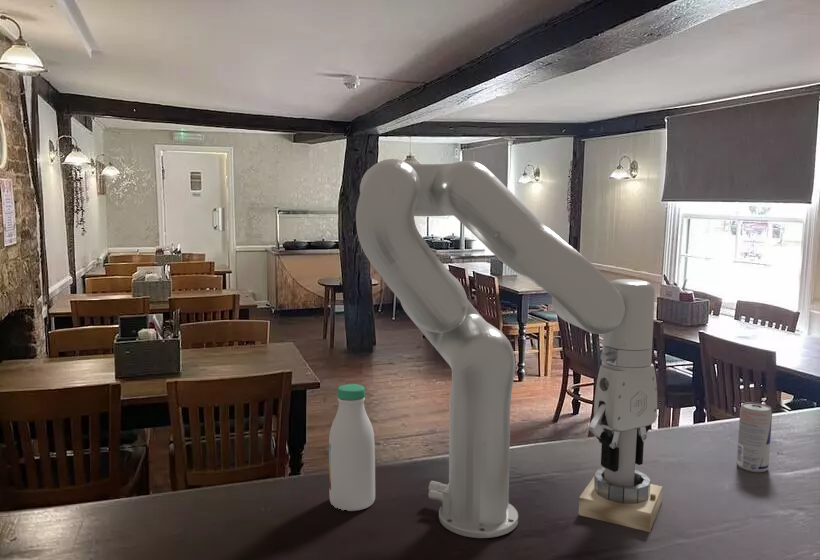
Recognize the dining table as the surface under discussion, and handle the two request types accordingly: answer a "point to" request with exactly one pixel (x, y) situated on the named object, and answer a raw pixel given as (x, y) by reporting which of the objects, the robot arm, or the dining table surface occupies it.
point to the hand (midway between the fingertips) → (621, 464)
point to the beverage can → (624, 459)
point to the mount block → (621, 508)
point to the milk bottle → (351, 452)
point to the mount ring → (623, 488)
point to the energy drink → (754, 437)
